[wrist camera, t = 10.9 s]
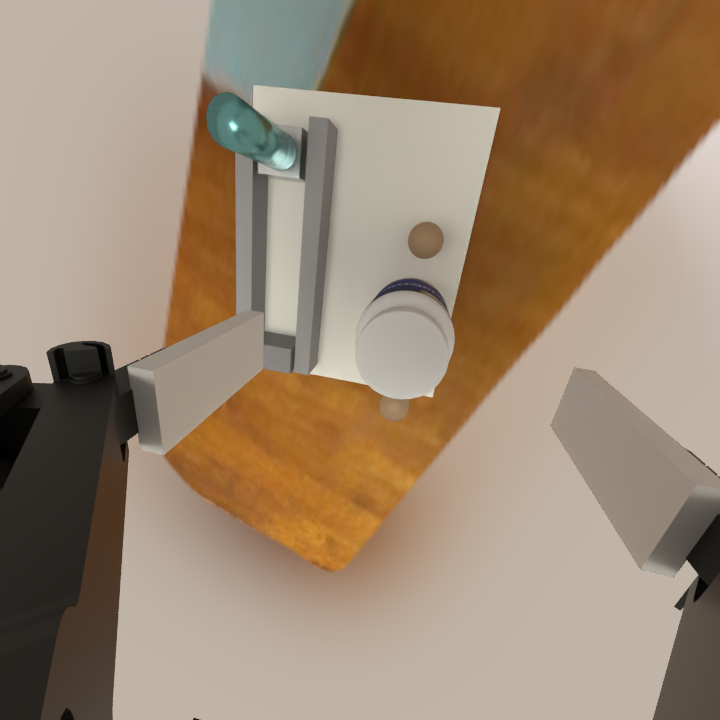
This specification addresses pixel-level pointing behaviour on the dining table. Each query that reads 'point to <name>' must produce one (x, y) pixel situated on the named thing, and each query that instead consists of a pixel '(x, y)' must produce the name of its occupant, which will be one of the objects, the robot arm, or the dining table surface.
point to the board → (355, 219)
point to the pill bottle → (404, 339)
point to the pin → (258, 138)
